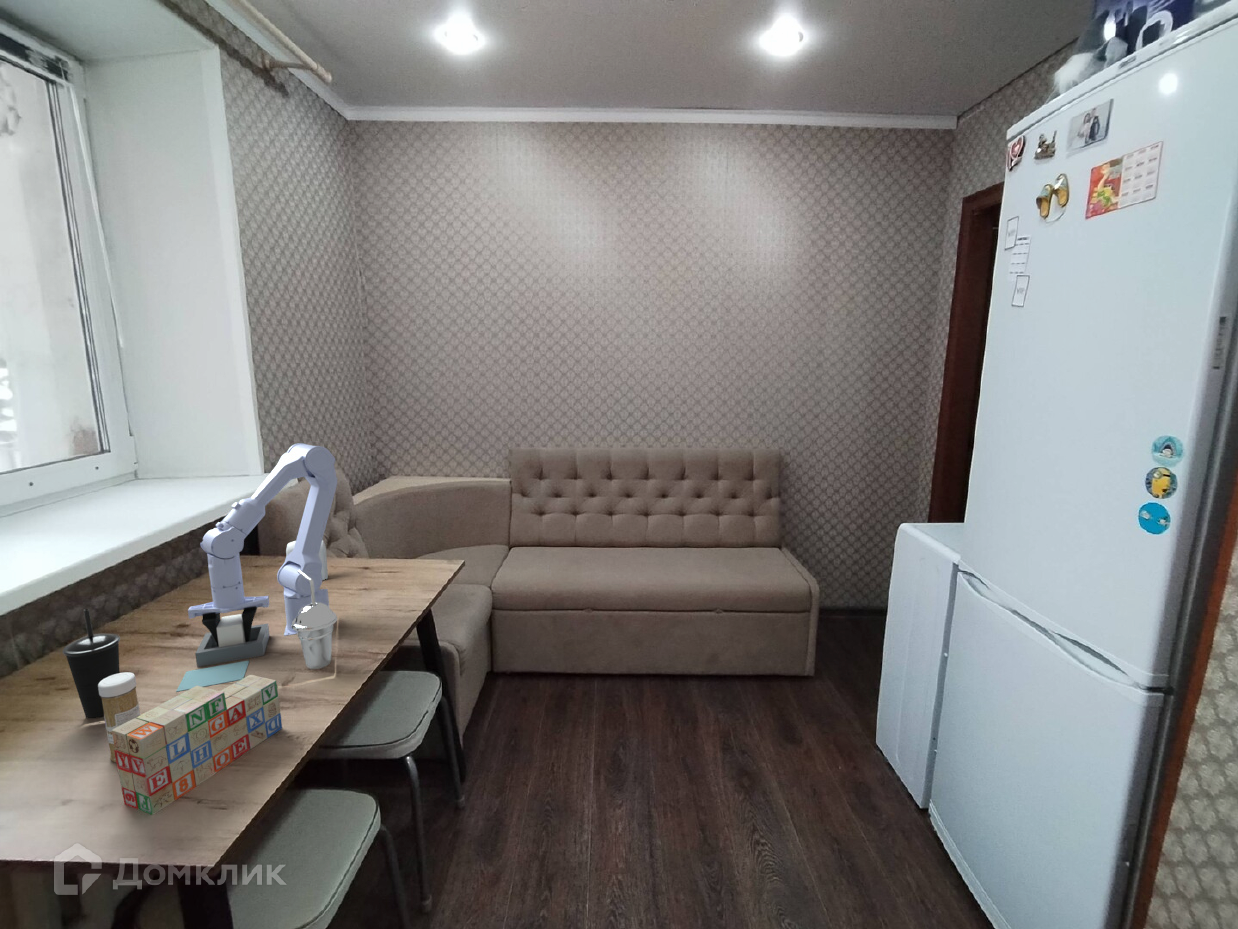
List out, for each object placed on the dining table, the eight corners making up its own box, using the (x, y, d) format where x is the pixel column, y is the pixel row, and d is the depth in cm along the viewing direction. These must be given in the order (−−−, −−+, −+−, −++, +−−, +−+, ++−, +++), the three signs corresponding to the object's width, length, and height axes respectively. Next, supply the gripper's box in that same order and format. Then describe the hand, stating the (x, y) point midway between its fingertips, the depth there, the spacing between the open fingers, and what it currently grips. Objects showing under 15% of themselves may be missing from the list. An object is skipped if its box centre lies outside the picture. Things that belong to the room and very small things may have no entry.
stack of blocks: (257, 721, 105) (249, 657, 103) (283, 729, 103) (276, 664, 101) (122, 805, 86) (109, 728, 83) (152, 817, 83) (139, 738, 81)
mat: (249, 663, 125) (249, 660, 125) (243, 681, 118) (243, 678, 118) (186, 674, 121) (186, 671, 121) (176, 694, 114) (176, 691, 113)
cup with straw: (294, 680, 119) (284, 586, 115) (297, 659, 127) (288, 571, 123) (341, 671, 122) (333, 579, 119) (341, 651, 130) (333, 565, 127)
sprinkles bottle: (107, 755, 96) (94, 679, 94) (142, 741, 100) (131, 668, 97) (113, 767, 93) (100, 689, 91) (149, 753, 97) (138, 677, 94)
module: (249, 642, 133) (245, 613, 132) (245, 654, 128) (241, 624, 126) (225, 646, 131) (222, 616, 130) (220, 658, 126) (216, 628, 125)
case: (269, 637, 137) (268, 623, 136) (264, 657, 128) (262, 642, 127) (207, 647, 132) (205, 633, 131) (197, 669, 123) (195, 653, 122)
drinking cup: (68, 730, 103) (49, 622, 99) (83, 707, 109) (65, 605, 106) (124, 718, 106) (107, 613, 102) (135, 697, 113) (119, 598, 109)
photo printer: (329, 575, 175) (325, 535, 173) (327, 580, 171) (323, 539, 169) (290, 579, 172) (286, 539, 170) (287, 585, 168) (283, 543, 166)
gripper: (181, 595, 120) (189, 657, 123) (263, 584, 126) (270, 643, 129) (189, 583, 127) (197, 642, 129) (267, 573, 132) (273, 630, 135)
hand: (234, 642), depth 129 cm, fingers closed on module, 4 cm apart
